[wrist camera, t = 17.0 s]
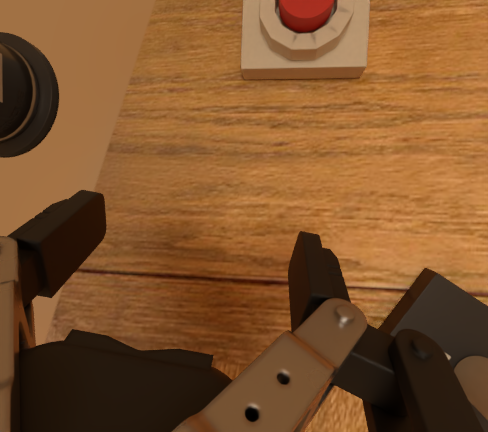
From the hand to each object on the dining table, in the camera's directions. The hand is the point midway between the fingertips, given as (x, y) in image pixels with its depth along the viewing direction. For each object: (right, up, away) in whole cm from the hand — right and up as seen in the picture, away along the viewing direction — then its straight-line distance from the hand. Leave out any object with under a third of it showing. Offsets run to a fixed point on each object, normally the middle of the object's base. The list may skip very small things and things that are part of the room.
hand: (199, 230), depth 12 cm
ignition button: (+6, +16, +10) cm, 21 cm away
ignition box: (+7, +17, +14) cm, 23 cm away
